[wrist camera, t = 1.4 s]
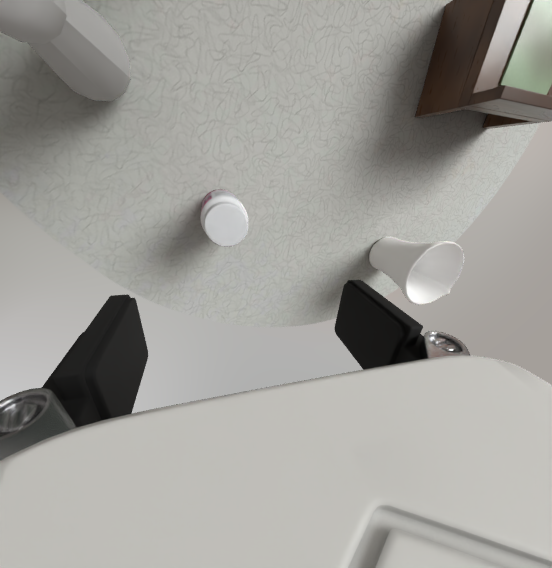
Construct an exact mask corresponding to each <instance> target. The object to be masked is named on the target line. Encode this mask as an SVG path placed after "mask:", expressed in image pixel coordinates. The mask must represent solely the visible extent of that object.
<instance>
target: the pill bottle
mask: <svg viewBox="0 0 552 568" xmlns="http://www.w3.org/2000/svg"><path fill="white" fill-rule="evenodd" d="M200 217H201V224H202V227H203V230H204V231H205V233H206V234H207V236H208V237H209V238H210V240H211V241H213V242H214V243H215V244H217V245H220V246H224V247H230V246H234V245H237V244H238V243H240V242H241V241H242V240H243V239H244V238H245V236H246V234H247V231H248V215H247V212H246V209H245V208H244V206H243V205H242V203H241V202H240V201H239V200H238V198H237V197H236V196H235V195H234V194H233V193H231V192H229V191H227V190H222V189H218V190H214V191H212V192H210V193H208V194H207V195H206V197H205V198H204V200H203V202H202V207H201V215H200Z"/></svg>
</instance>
